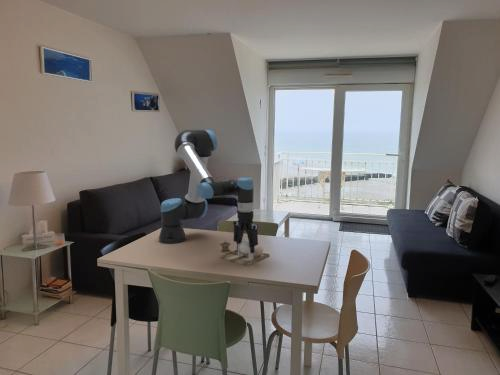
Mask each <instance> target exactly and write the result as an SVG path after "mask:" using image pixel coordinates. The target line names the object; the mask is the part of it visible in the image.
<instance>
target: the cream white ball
mask: <svg viewBox="0 0 500 375" xmlns="http://www.w3.org/2000/svg"><path fill="white" fill-rule="evenodd" d="M262 253H264V249H263V247H262V246H261V245H259V244H258V245H256V246H254V253H253V256H254V257H259V256H261V255H262Z"/></svg>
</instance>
